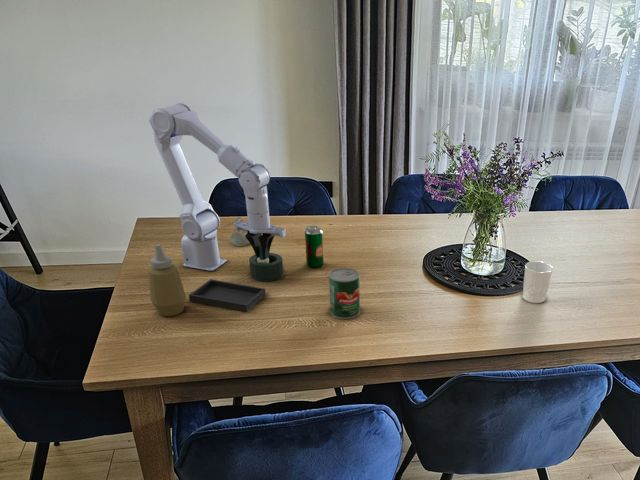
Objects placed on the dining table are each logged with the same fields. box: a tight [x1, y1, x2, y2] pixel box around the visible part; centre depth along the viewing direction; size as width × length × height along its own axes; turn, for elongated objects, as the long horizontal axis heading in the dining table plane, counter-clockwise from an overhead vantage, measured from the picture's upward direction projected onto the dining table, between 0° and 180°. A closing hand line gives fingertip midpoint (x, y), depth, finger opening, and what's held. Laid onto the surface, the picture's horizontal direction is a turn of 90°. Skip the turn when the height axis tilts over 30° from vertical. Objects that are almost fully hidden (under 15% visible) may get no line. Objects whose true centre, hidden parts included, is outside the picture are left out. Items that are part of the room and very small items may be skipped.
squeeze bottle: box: [147, 243, 187, 317], centre depth 150 cm, size 8×8×18 cm
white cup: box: [522, 260, 554, 304], centre depth 176 cm, size 8×8×10 cm
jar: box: [248, 252, 284, 283], centre depth 176 cm, size 9×9×5 cm
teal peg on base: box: [257, 244, 269, 263], centre depth 173 cm, size 3×3×7 cm
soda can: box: [304, 225, 325, 269], centre depth 182 cm, size 5×5×12 cm
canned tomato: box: [328, 267, 361, 320], centre depth 159 cm, size 8×8×11 cm
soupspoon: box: [229, 216, 251, 247], centre depth 200 cm, size 22×3×7 cm
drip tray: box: [188, 278, 267, 313], centre depth 163 cm, size 16×10×2 cm, turn 78°
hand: (262, 256), depth 173 cm, fingers closed on teal peg on base
